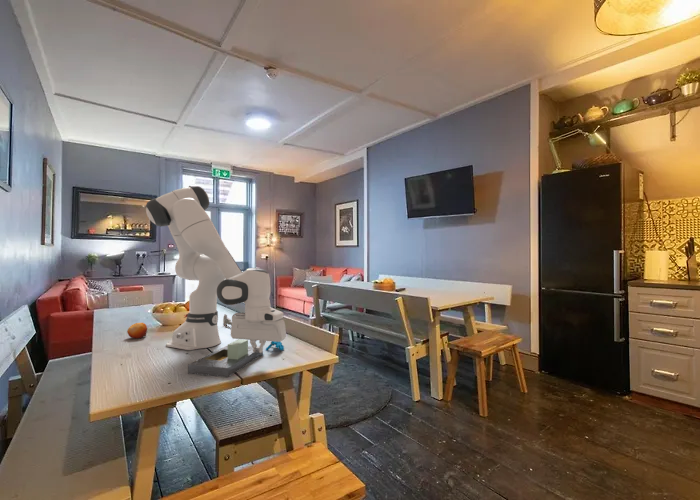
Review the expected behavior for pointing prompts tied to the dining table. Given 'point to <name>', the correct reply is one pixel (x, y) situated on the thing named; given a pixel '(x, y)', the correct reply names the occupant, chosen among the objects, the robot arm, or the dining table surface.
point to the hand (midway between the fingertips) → (257, 352)
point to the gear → (278, 344)
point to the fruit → (137, 330)
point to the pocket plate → (221, 363)
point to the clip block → (237, 349)
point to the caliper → (226, 320)
